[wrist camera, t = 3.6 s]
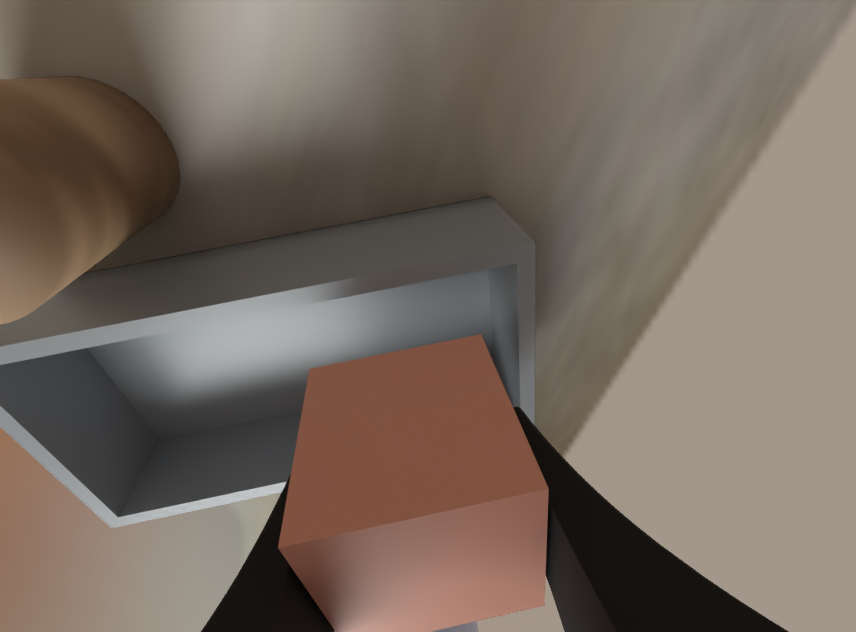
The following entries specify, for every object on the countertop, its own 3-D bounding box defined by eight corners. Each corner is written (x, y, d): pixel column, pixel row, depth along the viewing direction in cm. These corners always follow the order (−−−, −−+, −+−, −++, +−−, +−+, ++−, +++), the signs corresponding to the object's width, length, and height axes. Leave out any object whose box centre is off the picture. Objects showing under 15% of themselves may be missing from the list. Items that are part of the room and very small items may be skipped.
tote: (500, 364, 21) (534, 438, 17) (161, 434, 21) (111, 528, 17) (491, 195, 16) (535, 242, 12) (42, 281, 16) (-73, 360, 12)
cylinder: (203, 211, 15) (103, 305, 9) (75, 235, 15) (-107, 345, 9) (133, 64, 13) (-66, 66, 7) (-22, 90, 12) (-364, 117, 7)
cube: (490, 446, 14) (544, 605, 10) (352, 475, 14) (348, 650, 10) (480, 334, 11) (548, 489, 7) (309, 368, 11) (277, 547, 7)
